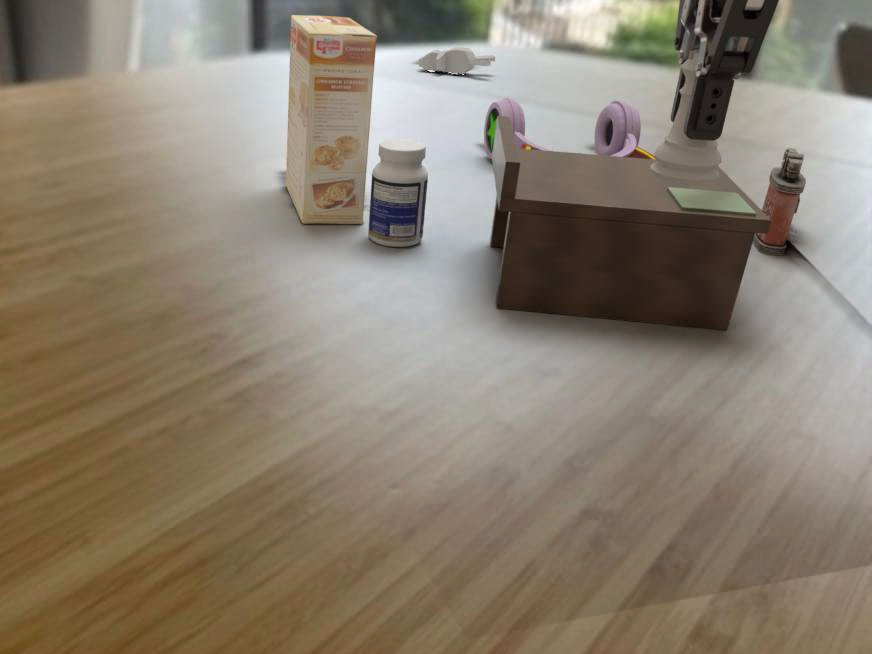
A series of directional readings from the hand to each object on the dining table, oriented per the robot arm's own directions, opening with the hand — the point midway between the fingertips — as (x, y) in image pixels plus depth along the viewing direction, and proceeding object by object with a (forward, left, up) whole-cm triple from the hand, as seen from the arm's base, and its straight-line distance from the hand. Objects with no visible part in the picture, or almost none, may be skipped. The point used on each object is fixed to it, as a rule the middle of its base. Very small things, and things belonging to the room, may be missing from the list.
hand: (693, 130), depth 60 cm
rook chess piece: (0, 0, -3) cm, 3 cm away
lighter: (-21, -38, -19) cm, 48 cm away
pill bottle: (+20, -28, -19) cm, 40 cm away
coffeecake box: (+29, -38, -19) cm, 52 cm away
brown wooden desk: (0, -21, -19) cm, 28 cm away
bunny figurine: (+14, -135, -19) cm, 137 cm away
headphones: (-2, -61, -19) cm, 64 cm away
